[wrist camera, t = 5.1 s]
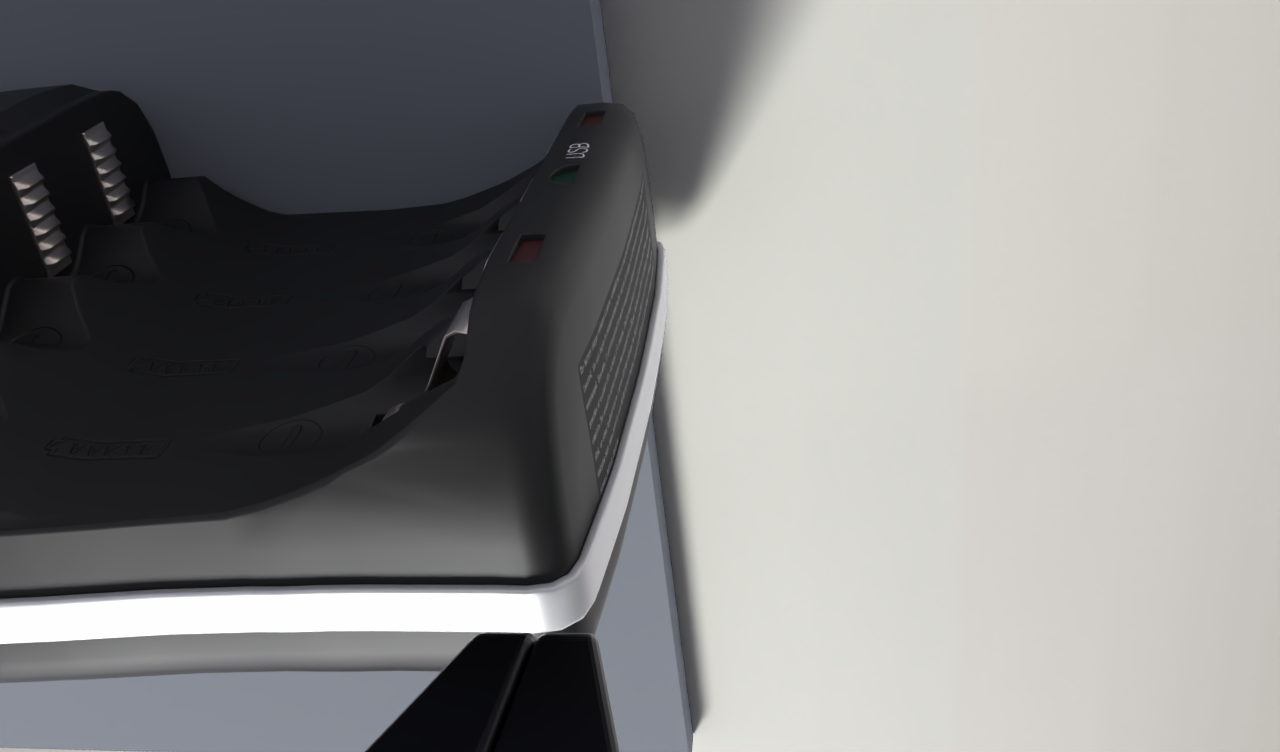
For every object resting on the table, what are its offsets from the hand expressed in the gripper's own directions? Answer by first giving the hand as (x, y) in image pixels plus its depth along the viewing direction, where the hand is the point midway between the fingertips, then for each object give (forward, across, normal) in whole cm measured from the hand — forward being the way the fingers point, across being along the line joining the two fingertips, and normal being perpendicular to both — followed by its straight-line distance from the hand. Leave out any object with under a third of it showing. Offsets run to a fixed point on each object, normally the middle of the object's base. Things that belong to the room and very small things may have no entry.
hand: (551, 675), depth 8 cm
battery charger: (+4, 0, -1) cm, 4 cm away
